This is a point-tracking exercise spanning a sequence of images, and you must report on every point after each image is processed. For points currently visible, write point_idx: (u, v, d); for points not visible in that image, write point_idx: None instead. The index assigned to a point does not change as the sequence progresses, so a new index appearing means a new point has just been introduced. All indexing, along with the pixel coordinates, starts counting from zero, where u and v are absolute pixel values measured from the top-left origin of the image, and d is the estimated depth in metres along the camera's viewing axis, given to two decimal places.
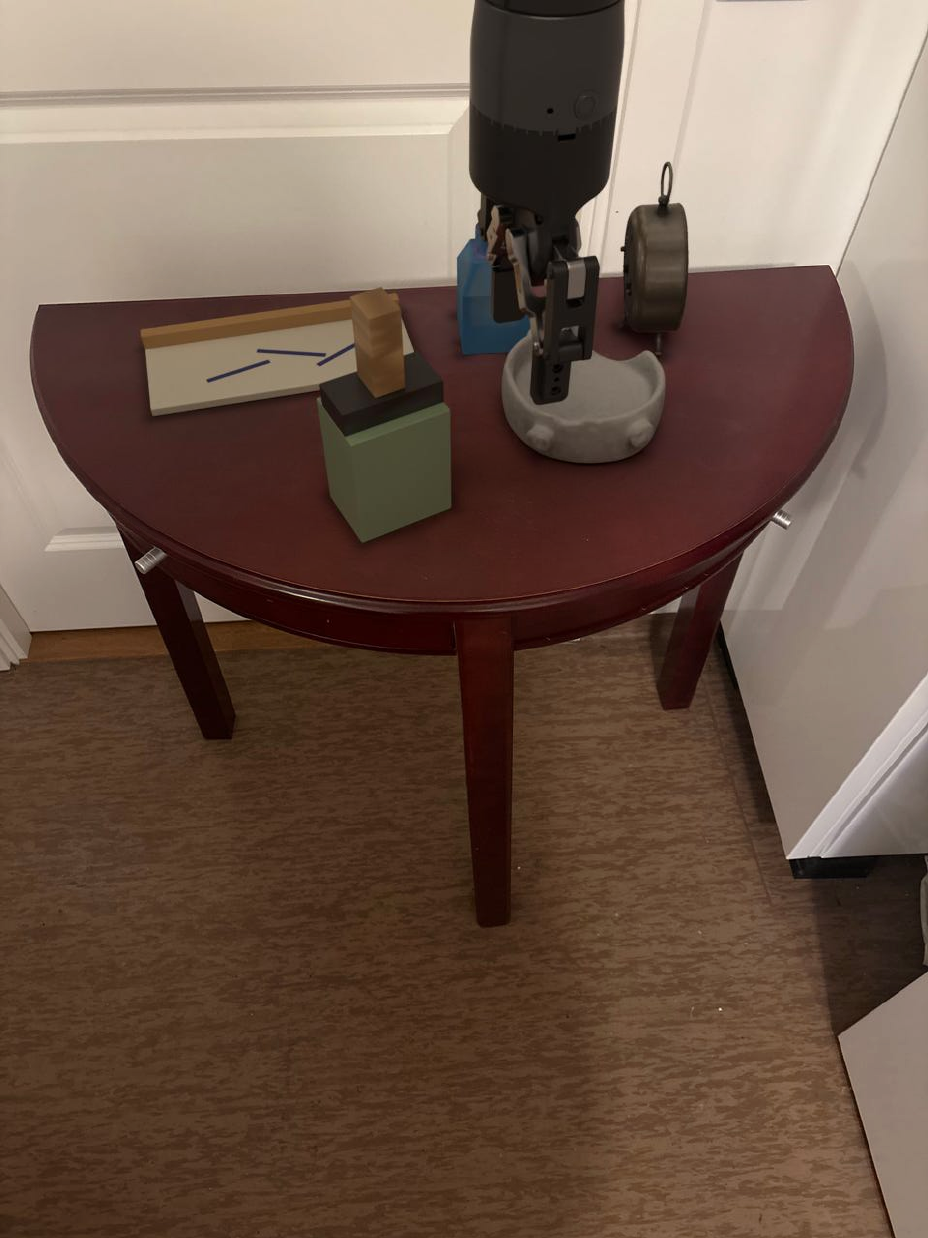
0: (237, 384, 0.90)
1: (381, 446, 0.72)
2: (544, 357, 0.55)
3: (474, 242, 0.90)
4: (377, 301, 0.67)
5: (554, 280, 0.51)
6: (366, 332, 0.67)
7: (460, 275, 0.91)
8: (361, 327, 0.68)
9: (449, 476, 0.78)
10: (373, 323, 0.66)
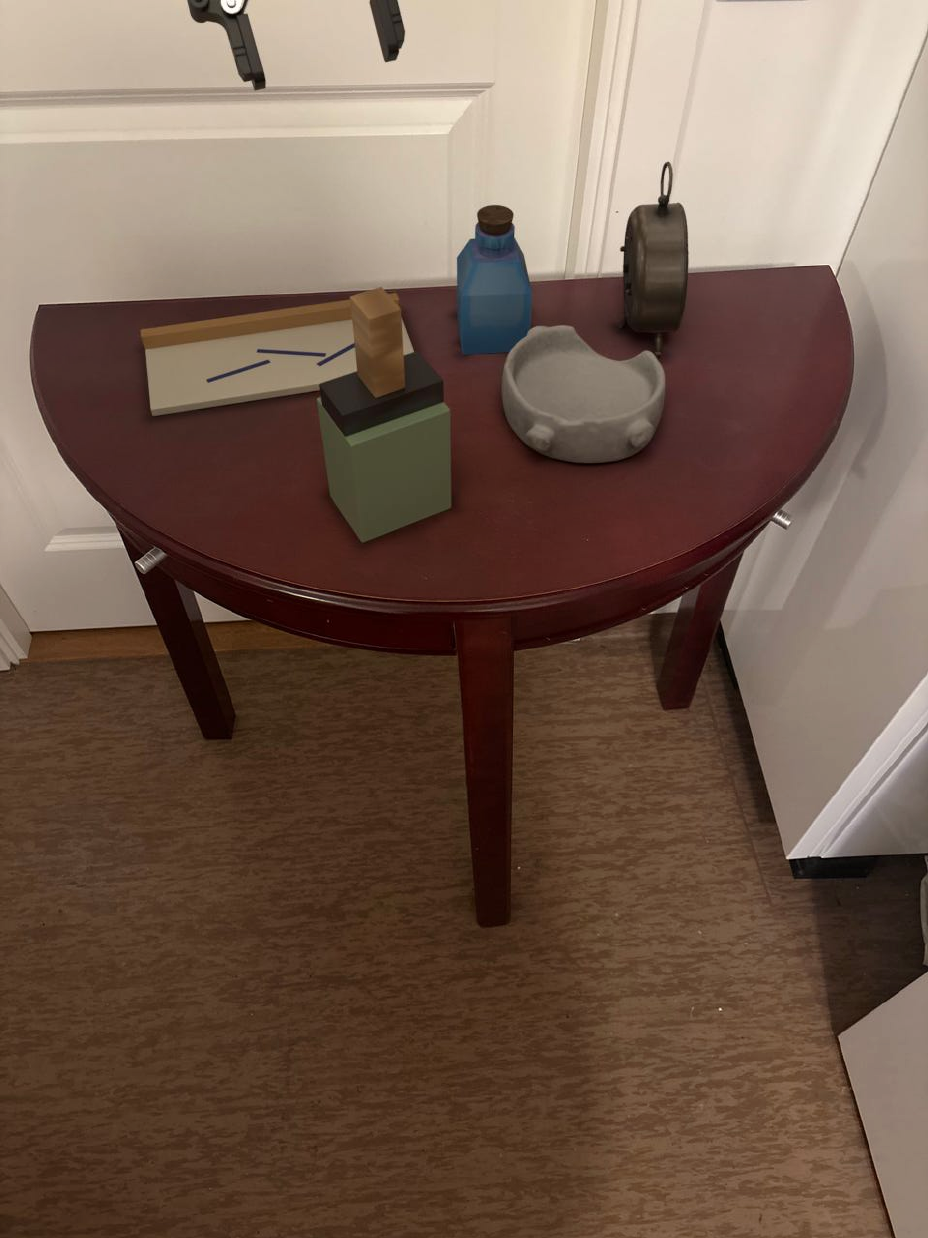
0: (237, 384, 0.90)
1: (381, 446, 0.72)
2: None
3: (474, 242, 0.90)
4: (377, 301, 0.67)
5: None
6: (366, 332, 0.67)
7: (460, 275, 0.91)
8: (361, 327, 0.68)
9: (449, 476, 0.78)
10: (373, 323, 0.66)
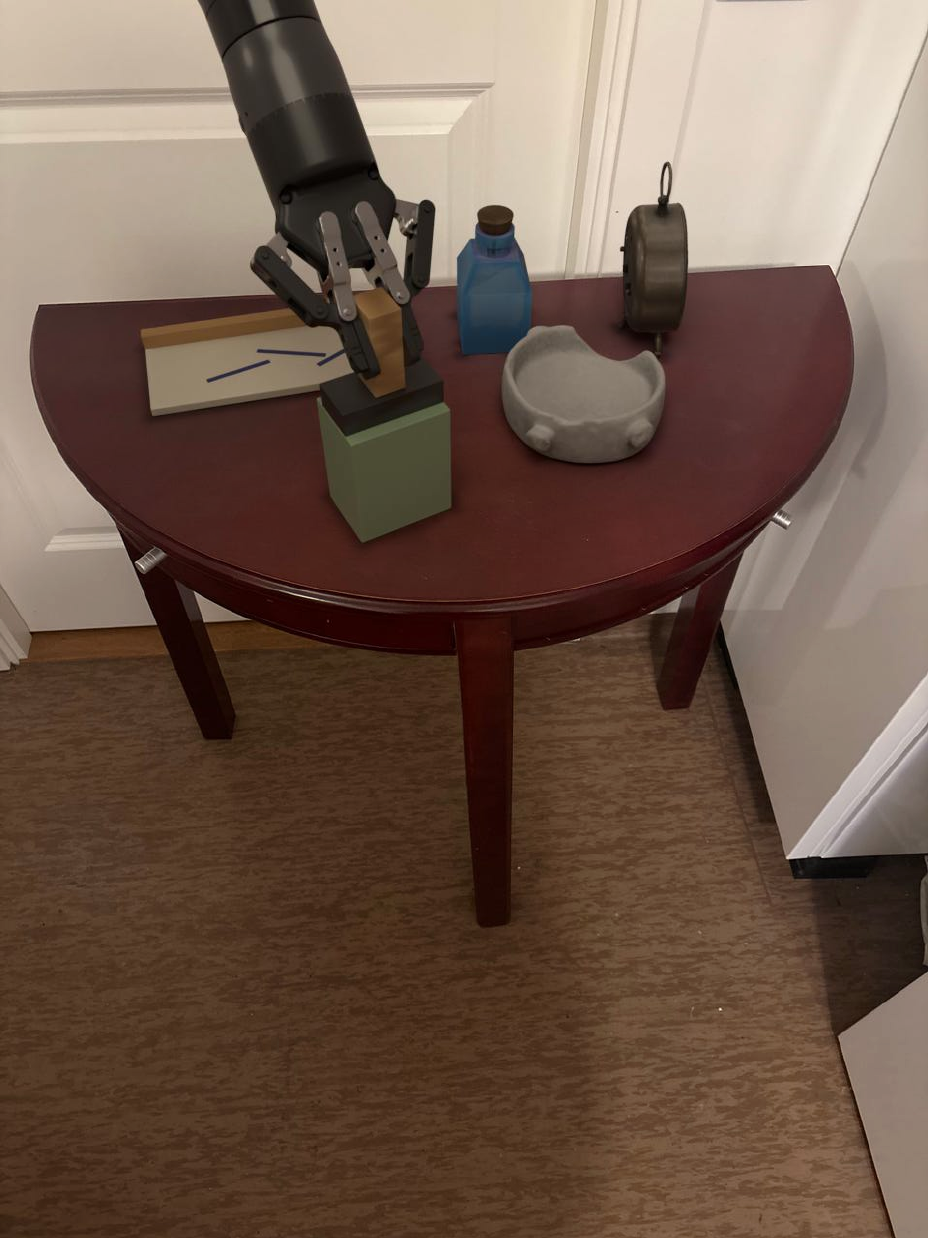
0: (237, 384, 0.90)
1: (381, 446, 0.72)
2: (423, 279, 0.68)
3: (474, 242, 0.90)
4: (377, 301, 0.67)
5: (434, 211, 0.69)
6: (366, 331, 0.67)
7: (460, 275, 0.91)
8: None
9: (449, 476, 0.78)
10: (373, 323, 0.66)
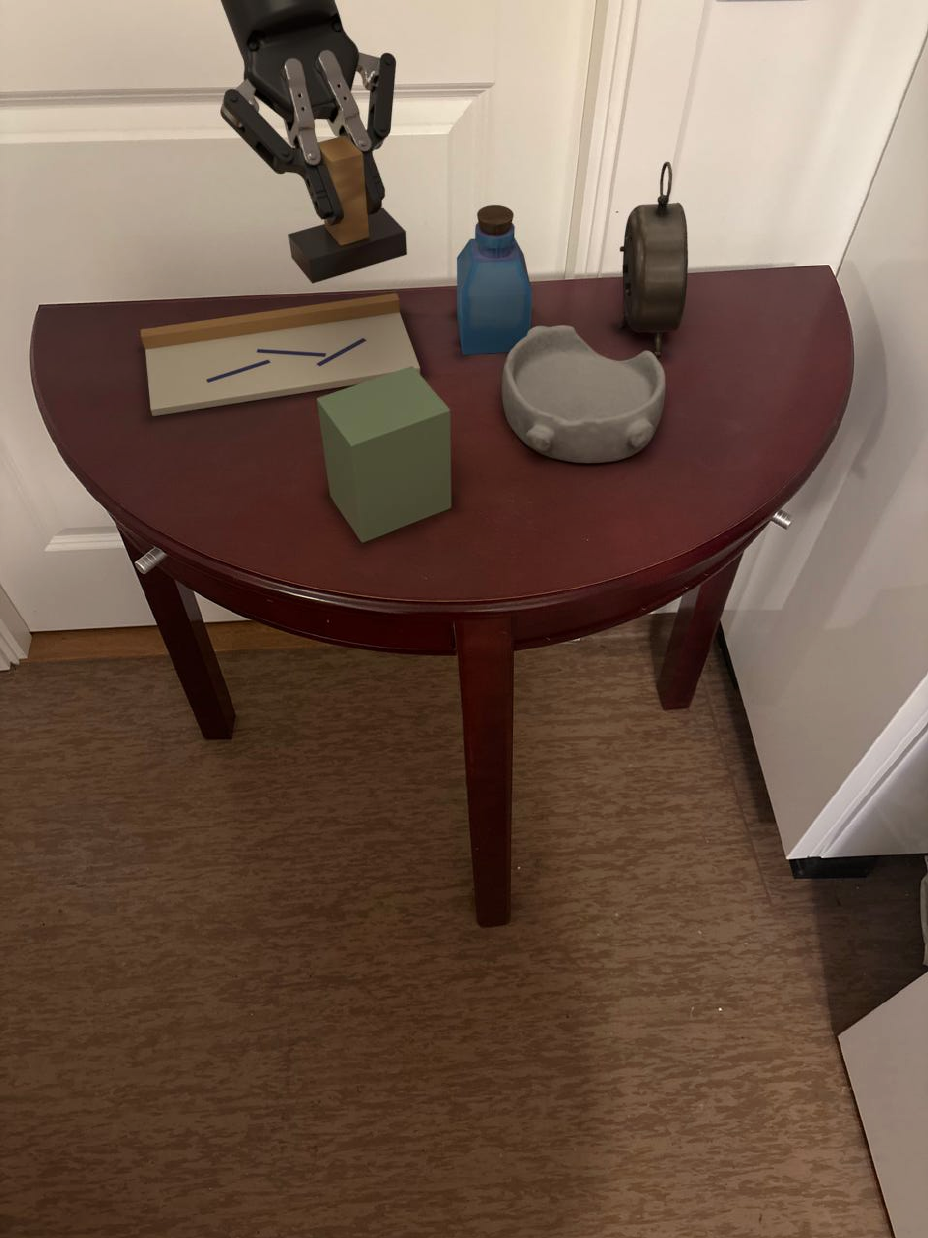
0: (237, 384, 0.90)
1: (381, 446, 0.72)
2: (384, 128, 0.72)
3: (474, 242, 0.90)
4: (340, 146, 0.71)
5: (395, 64, 0.73)
6: (330, 175, 0.71)
7: (460, 275, 0.91)
8: None
9: (449, 476, 0.78)
10: (336, 166, 0.70)
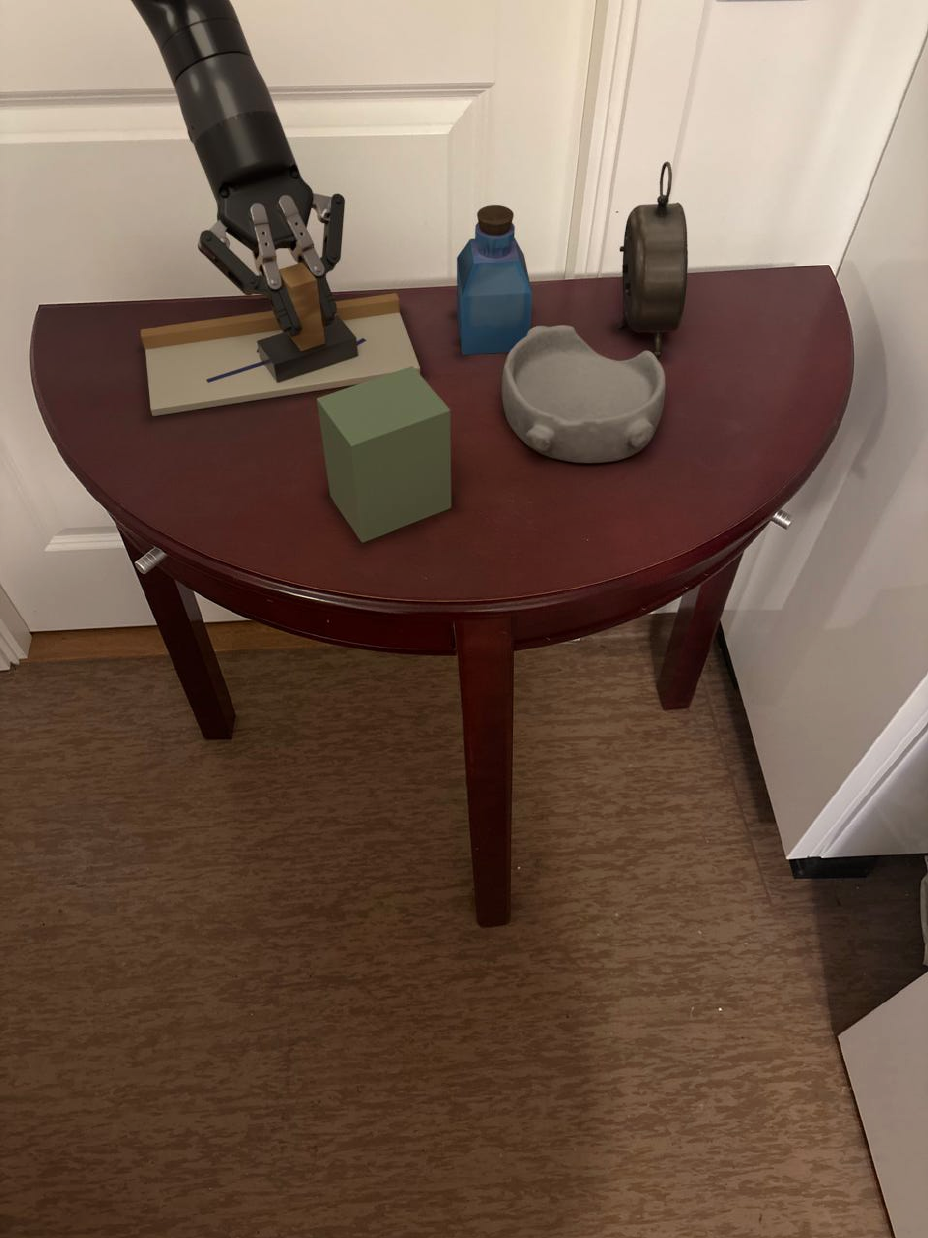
0: (237, 384, 0.90)
1: (381, 446, 0.72)
2: (335, 256, 0.87)
3: (474, 242, 0.90)
4: (298, 273, 0.85)
5: (344, 202, 0.87)
6: (290, 297, 0.86)
7: (460, 275, 0.91)
8: None
9: (449, 476, 0.78)
10: (294, 290, 0.85)
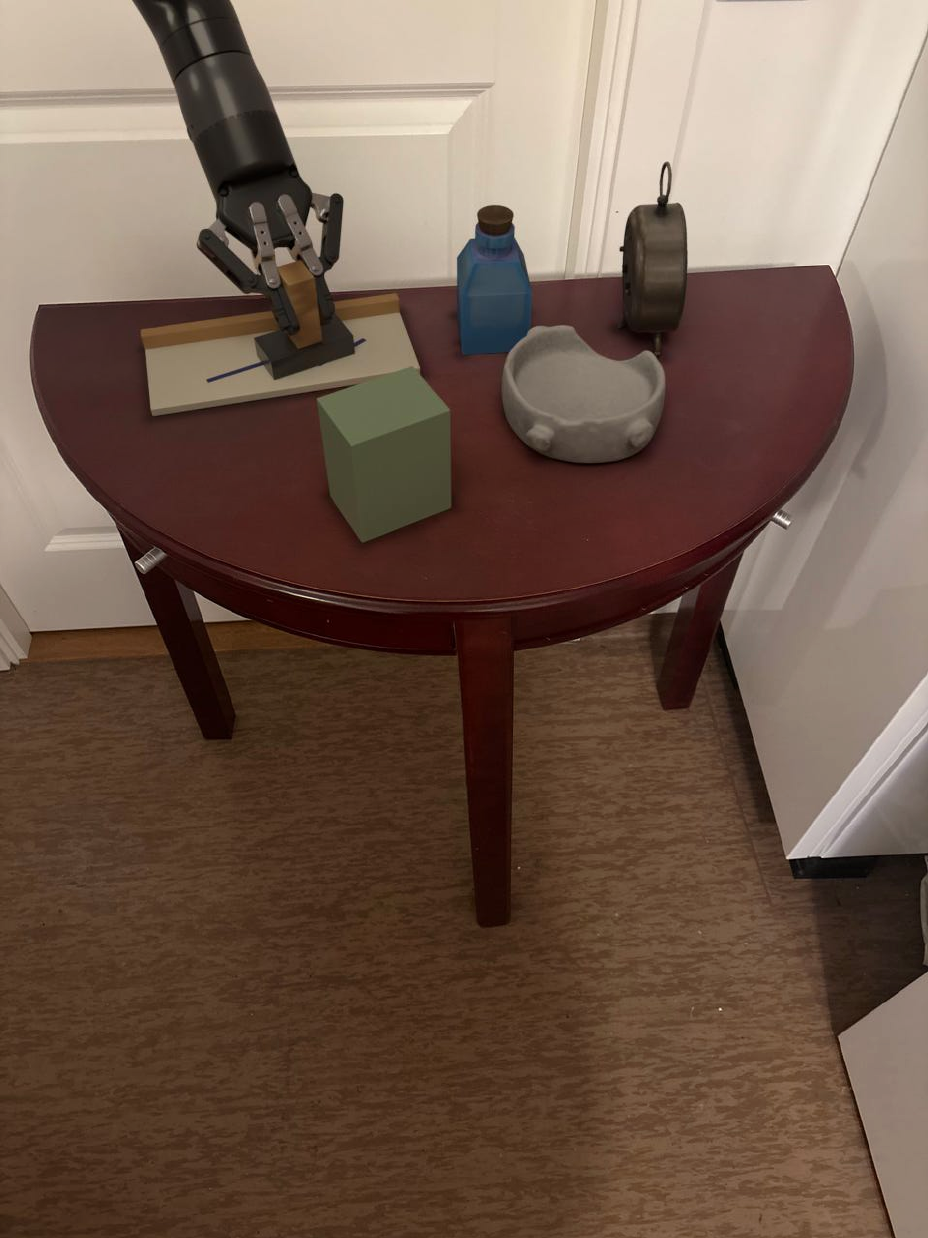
0: (237, 384, 0.90)
1: (381, 446, 0.72)
2: (333, 255, 0.87)
3: (474, 242, 0.90)
4: (296, 271, 0.86)
5: (342, 202, 0.87)
6: (288, 295, 0.86)
7: (460, 275, 0.91)
8: None
9: (449, 476, 0.78)
10: (292, 288, 0.85)
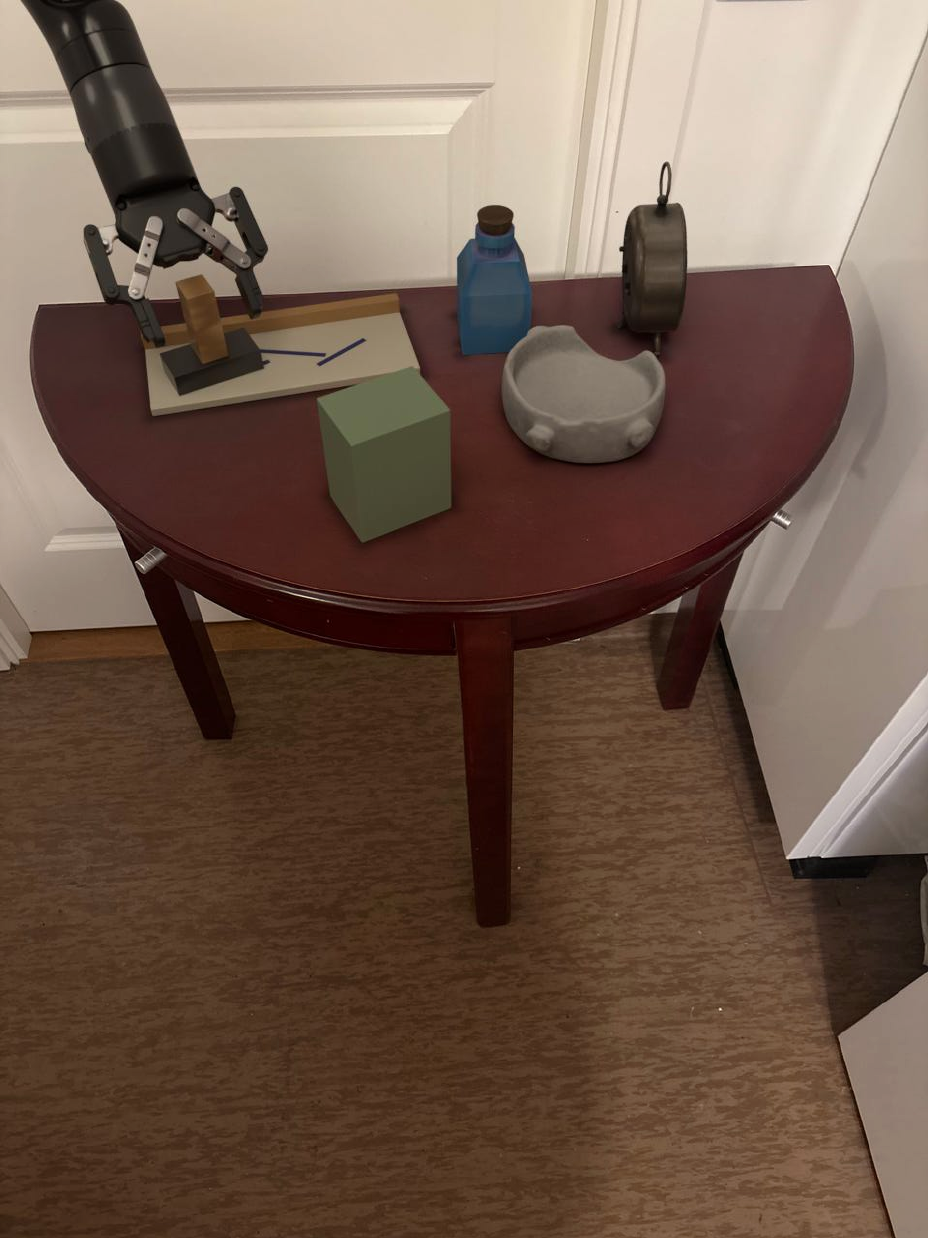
0: (237, 384, 0.90)
1: (381, 446, 0.72)
2: (262, 247, 0.86)
3: (474, 242, 0.90)
4: (196, 285, 0.84)
5: (243, 192, 0.86)
6: (188, 309, 0.84)
7: (460, 275, 0.91)
8: (185, 306, 0.85)
9: (449, 476, 0.78)
10: (191, 302, 0.84)
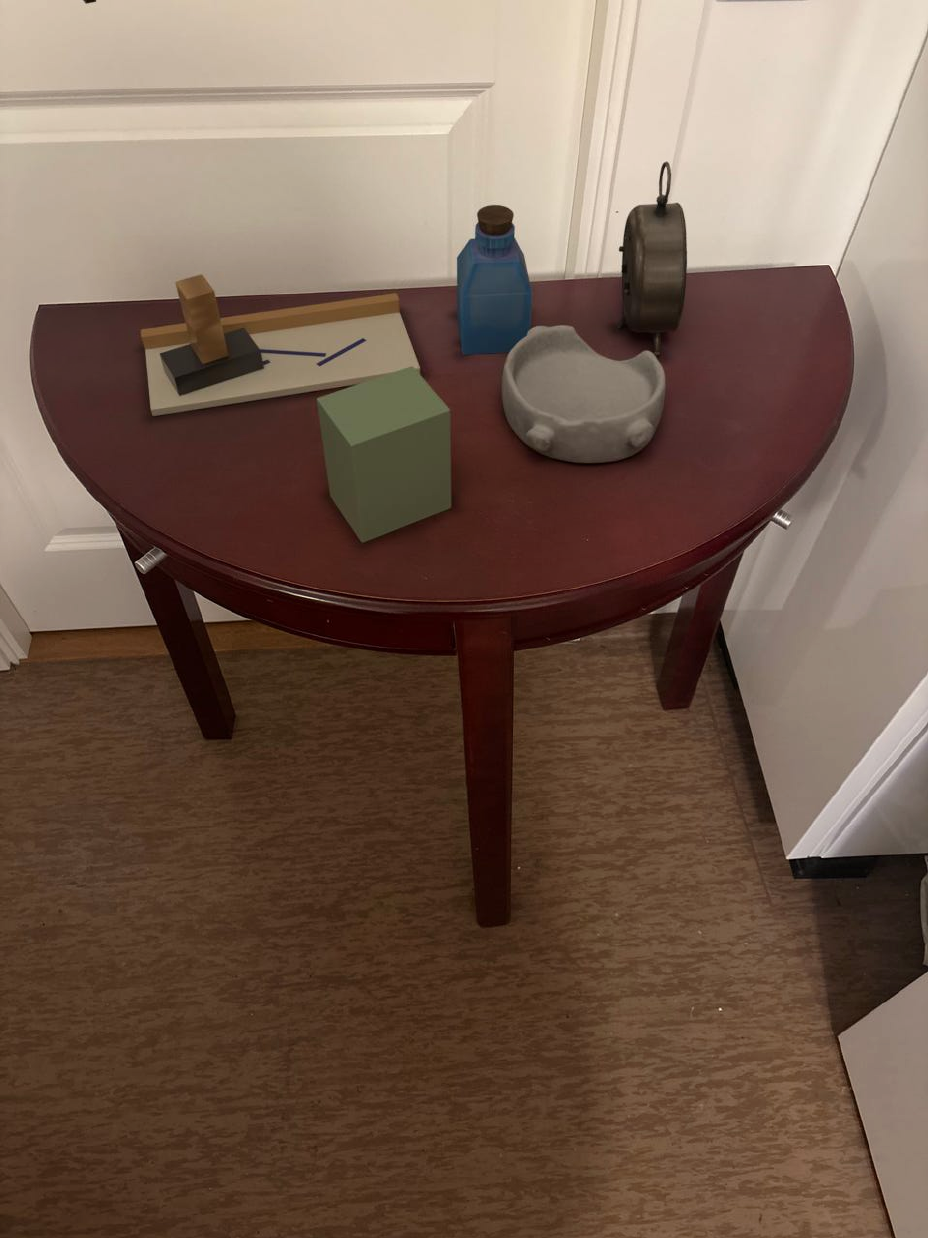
0: (237, 384, 0.90)
1: (381, 446, 0.72)
2: None
3: (474, 242, 0.90)
4: (196, 285, 0.84)
5: None
6: (188, 309, 0.84)
7: (460, 275, 0.91)
8: (185, 306, 0.85)
9: (449, 476, 0.78)
10: (191, 302, 0.84)
